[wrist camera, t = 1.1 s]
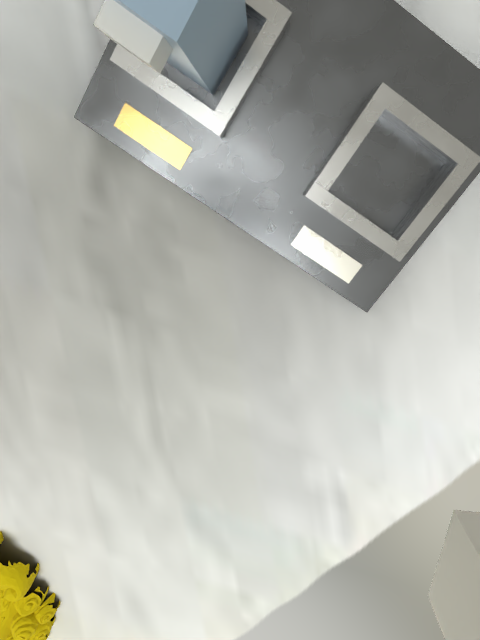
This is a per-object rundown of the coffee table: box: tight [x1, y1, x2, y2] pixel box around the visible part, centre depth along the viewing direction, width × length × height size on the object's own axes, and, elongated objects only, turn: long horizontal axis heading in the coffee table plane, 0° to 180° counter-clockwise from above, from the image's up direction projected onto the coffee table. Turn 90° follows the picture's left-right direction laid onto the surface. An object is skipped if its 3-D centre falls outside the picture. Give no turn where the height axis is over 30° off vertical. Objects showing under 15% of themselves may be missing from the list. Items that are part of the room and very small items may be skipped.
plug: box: [93, 0, 248, 96], centre depth 21 cm, size 4×5×13 cm
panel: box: [74, 0, 480, 312], centre depth 28 cm, size 24×16×3 cm, turn 57°
